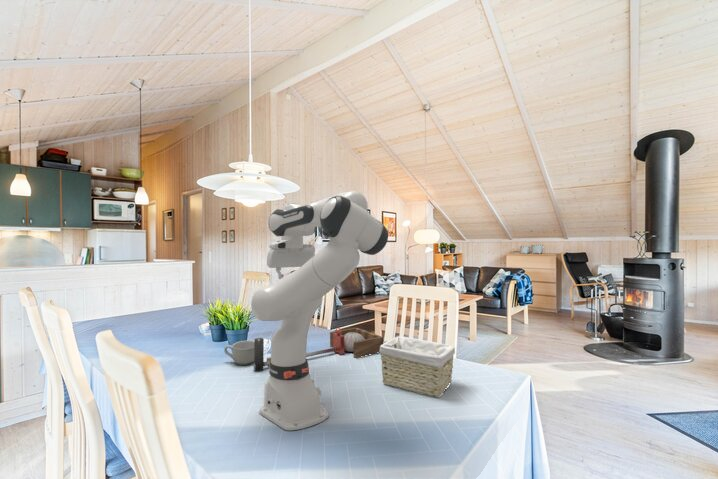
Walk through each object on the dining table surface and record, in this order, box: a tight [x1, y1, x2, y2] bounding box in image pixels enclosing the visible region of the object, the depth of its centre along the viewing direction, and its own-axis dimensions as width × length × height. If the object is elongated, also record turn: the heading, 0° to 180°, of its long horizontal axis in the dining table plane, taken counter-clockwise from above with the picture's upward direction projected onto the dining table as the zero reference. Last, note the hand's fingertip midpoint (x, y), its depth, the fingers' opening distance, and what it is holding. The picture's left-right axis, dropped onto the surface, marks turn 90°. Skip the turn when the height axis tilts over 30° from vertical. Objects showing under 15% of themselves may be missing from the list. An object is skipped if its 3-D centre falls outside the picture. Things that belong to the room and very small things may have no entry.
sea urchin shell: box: [344, 332, 365, 353], centre depth 169 cm, size 13×14×8 cm
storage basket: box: [379, 335, 456, 398], centre depth 128 cm, size 24×16×15 cm
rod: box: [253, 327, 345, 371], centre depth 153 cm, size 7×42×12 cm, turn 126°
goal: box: [329, 327, 384, 359], centre depth 169 cm, size 22×16×7 cm
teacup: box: [223, 340, 254, 366], centre depth 150 cm, size 14×11×8 cm
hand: (291, 278), depth 142 cm, fingers open, 8 cm apart
